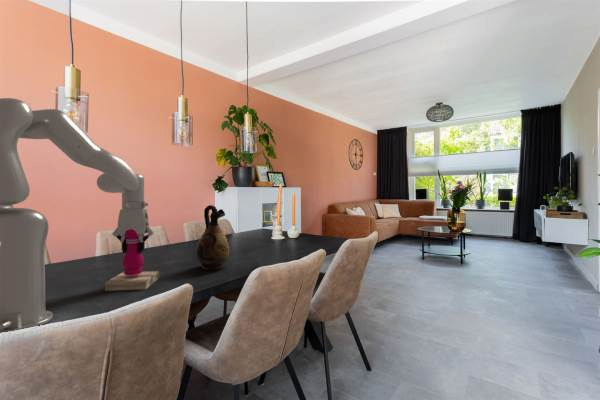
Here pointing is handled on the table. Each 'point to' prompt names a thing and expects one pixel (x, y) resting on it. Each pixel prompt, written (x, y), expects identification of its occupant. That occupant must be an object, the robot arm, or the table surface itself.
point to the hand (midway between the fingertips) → (133, 251)
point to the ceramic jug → (212, 242)
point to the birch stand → (132, 281)
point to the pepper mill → (132, 254)
